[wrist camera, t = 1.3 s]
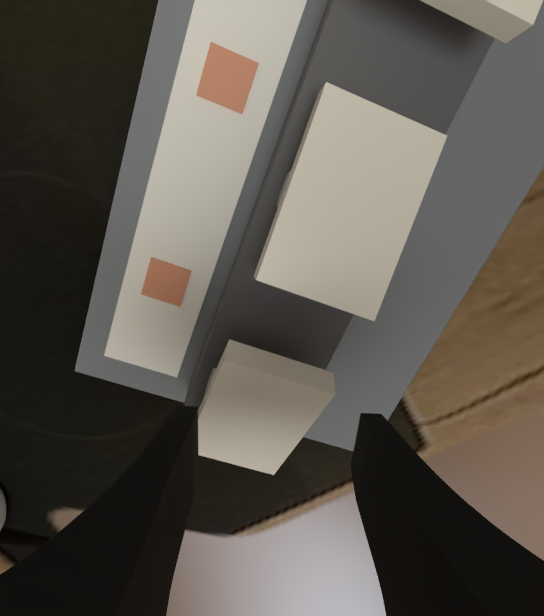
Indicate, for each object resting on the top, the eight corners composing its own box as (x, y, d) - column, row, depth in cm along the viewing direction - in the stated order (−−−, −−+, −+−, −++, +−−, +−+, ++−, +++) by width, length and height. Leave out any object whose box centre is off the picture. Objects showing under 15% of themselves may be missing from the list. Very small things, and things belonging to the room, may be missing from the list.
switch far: (333, 352, 16) (335, 394, 15) (276, 435, 20) (273, 475, 18) (233, 320, 16) (224, 360, 14) (194, 411, 19) (183, 451, 18)
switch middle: (417, 149, 15) (447, 135, 13) (354, 310, 15) (374, 321, 14) (311, 103, 14) (326, 81, 12) (251, 274, 15) (256, 280, 13)
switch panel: (669, -76, 15) (799, -135, 11) (361, 439, 25) (379, 496, 21) (244, -332, 12) (238, -514, 9) (83, 358, 22) (48, 406, 18)
